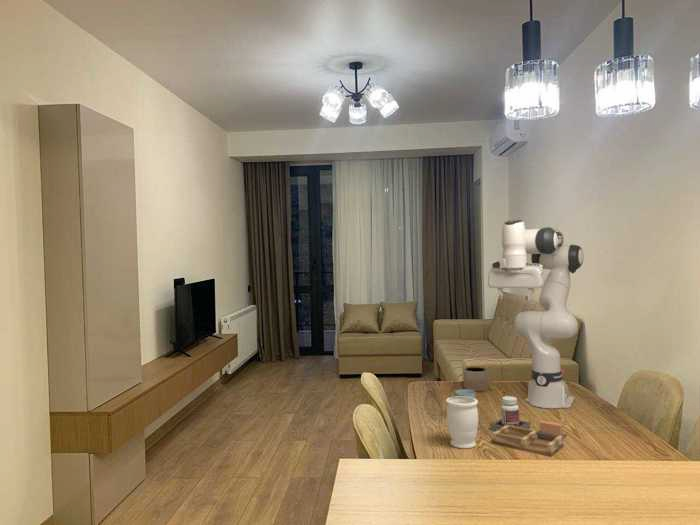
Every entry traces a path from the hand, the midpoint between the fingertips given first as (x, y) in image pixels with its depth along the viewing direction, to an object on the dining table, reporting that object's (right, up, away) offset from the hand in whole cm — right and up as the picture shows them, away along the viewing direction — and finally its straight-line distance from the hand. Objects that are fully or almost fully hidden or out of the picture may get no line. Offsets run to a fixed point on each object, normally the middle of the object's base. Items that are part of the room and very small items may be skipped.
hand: (515, 300), depth 196 cm
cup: (-17, -47, +8) cm, 50 cm away
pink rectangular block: (+8, -46, -14) cm, 49 cm away
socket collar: (-4, -46, -6) cm, 47 cm away
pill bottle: (-4, -47, -6) cm, 47 cm away
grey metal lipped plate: (+6, -46, -16) cm, 49 cm away
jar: (-24, -47, -21) cm, 57 cm away
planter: (-2, -46, +52) cm, 70 cm away
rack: (-3, -46, -23) cm, 52 cm away
